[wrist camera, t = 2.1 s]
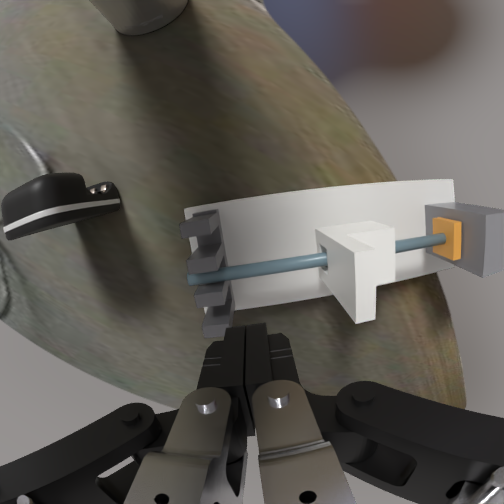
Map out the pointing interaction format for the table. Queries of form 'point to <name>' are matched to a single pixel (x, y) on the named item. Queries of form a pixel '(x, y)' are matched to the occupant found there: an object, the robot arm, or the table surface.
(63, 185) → the battery charger
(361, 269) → the sleeve
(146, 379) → the table surface
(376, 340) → the table surface
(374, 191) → the cable jig
